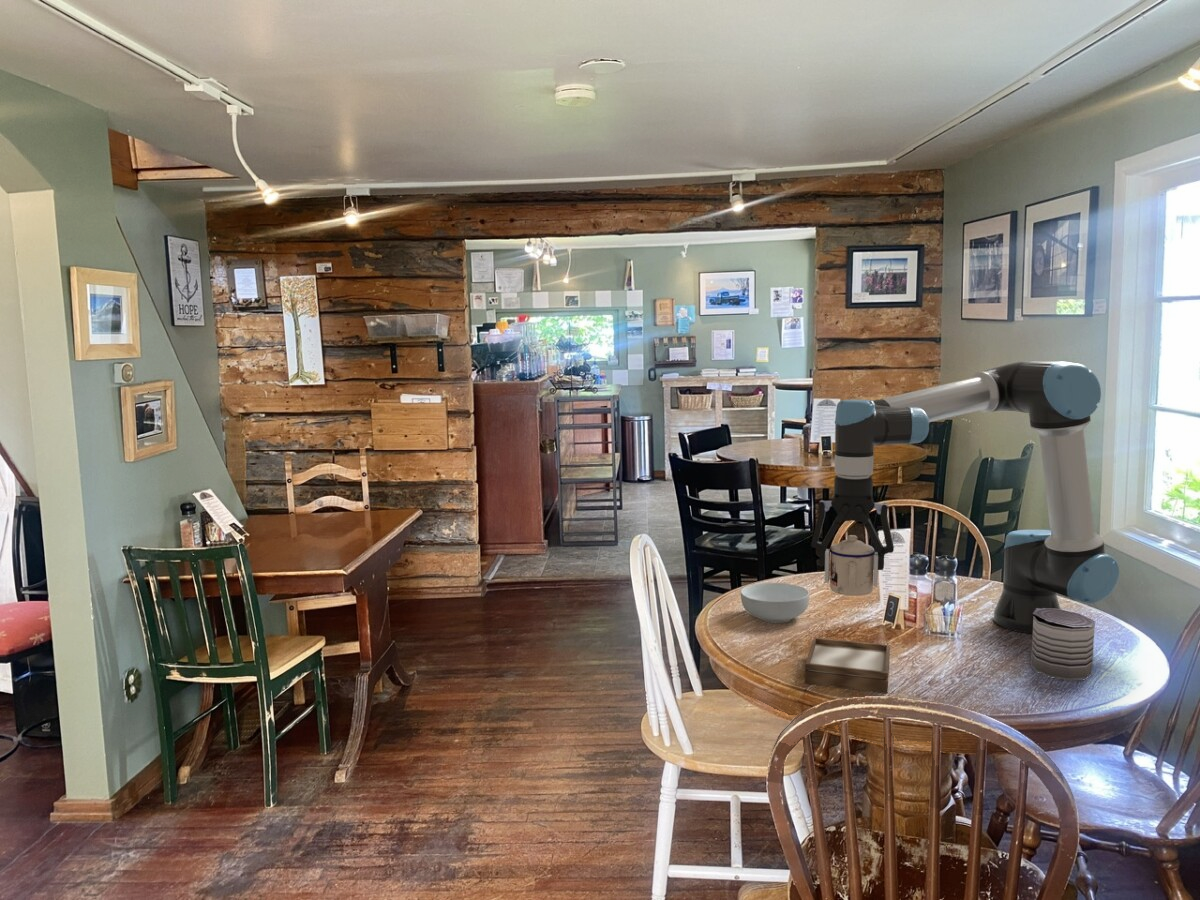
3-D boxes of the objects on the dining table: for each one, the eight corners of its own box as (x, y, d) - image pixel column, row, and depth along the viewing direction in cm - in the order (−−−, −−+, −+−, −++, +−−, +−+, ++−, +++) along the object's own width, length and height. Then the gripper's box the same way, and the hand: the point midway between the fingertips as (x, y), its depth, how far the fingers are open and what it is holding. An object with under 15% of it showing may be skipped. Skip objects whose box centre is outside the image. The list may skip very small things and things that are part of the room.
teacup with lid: (829, 582, 185) (829, 529, 183) (873, 585, 182) (874, 531, 181) (828, 599, 173) (829, 543, 172) (875, 602, 171) (877, 545, 169)
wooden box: (889, 663, 185) (889, 645, 184) (887, 693, 170) (887, 672, 169) (813, 655, 190) (813, 637, 190) (804, 683, 175) (805, 663, 175)
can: (1032, 656, 188) (1035, 603, 186) (1092, 665, 182) (1095, 611, 180) (1028, 674, 178) (1031, 618, 176) (1091, 684, 172) (1094, 627, 170)
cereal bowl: (785, 604, 226) (785, 578, 226) (822, 623, 211) (823, 596, 210) (728, 612, 221) (728, 586, 220) (762, 633, 205) (762, 604, 204)
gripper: (910, 474, 174) (906, 582, 177) (801, 470, 182) (800, 573, 185) (910, 480, 167) (906, 592, 170) (797, 476, 175) (795, 583, 178)
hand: (851, 582), depth 178 cm, fingers closed on teacup with lid, 9 cm apart
